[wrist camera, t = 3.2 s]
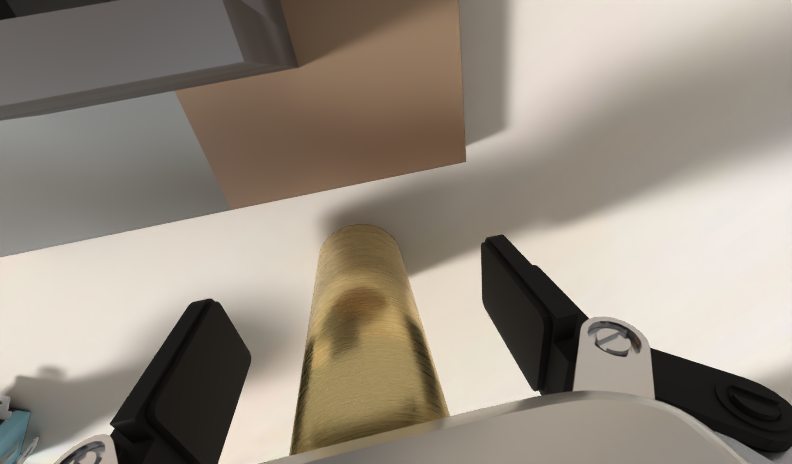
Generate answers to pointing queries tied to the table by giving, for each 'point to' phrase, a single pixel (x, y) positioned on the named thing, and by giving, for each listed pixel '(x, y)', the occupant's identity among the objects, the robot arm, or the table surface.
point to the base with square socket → (213, 106)
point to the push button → (13, 433)
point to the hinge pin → (363, 346)
